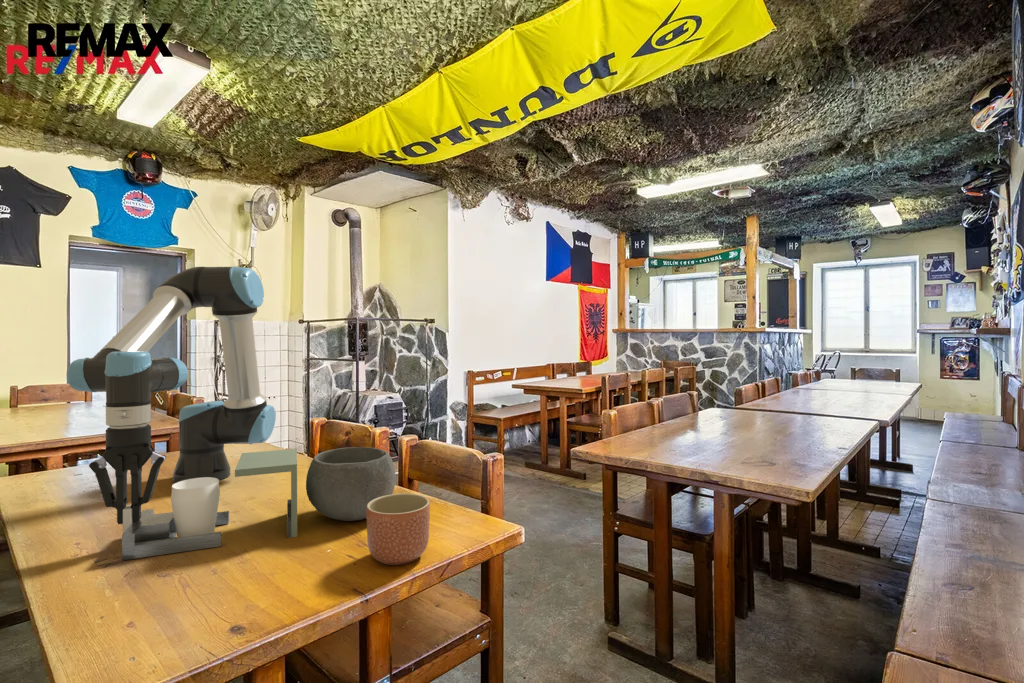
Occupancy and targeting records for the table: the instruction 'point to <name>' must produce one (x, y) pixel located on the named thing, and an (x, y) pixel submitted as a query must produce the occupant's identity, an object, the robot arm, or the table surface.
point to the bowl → (349, 481)
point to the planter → (398, 527)
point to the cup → (195, 505)
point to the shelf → (274, 464)
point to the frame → (164, 536)
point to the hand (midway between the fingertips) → (129, 537)
